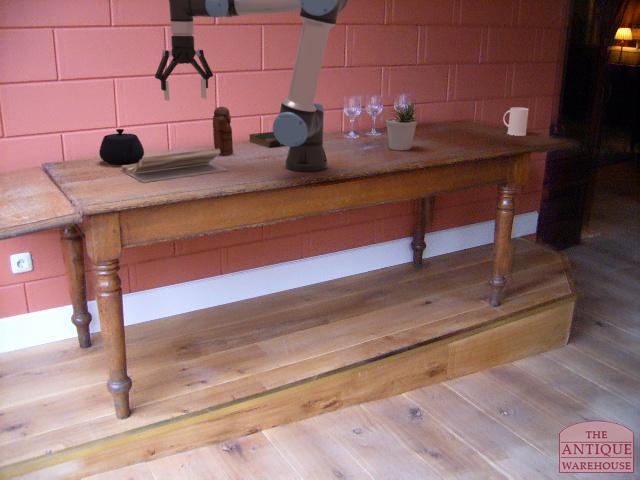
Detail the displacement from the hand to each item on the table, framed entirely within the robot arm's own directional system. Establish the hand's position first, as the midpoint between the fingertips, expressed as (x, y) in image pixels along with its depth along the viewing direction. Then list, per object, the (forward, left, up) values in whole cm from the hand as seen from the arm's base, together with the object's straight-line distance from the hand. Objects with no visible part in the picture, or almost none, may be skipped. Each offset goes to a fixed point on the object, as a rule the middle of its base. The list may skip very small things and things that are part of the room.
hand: (185, 99), depth 228 cm
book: (+21, -55, -25) cm, 63 cm away
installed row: (+3, +7, -24) cm, 25 cm away
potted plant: (-18, -87, -24) cm, 92 cm away
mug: (-20, -157, -24) cm, 160 cm away
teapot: (+18, +17, -24) cm, 35 cm away
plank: (-7, +7, -20) cm, 23 cm away
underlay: (-4, +7, -24) cm, 25 cm away
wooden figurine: (+14, -22, -24) cm, 35 cm away
